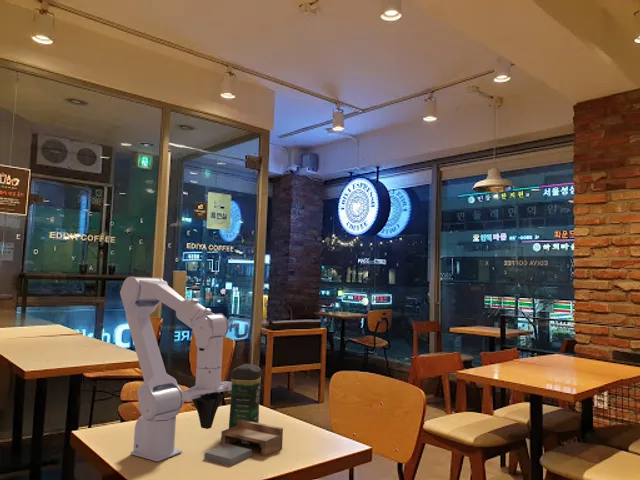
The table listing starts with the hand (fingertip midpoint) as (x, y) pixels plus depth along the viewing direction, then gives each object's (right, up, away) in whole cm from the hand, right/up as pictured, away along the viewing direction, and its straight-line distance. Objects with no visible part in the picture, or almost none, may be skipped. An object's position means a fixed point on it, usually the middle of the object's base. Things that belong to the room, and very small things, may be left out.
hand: (206, 427), depth 113 cm
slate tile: (+4, -10, +7) cm, 13 cm away
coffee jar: (+4, -12, +28) cm, 31 cm away
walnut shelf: (+8, -11, +14) cm, 20 cm away
